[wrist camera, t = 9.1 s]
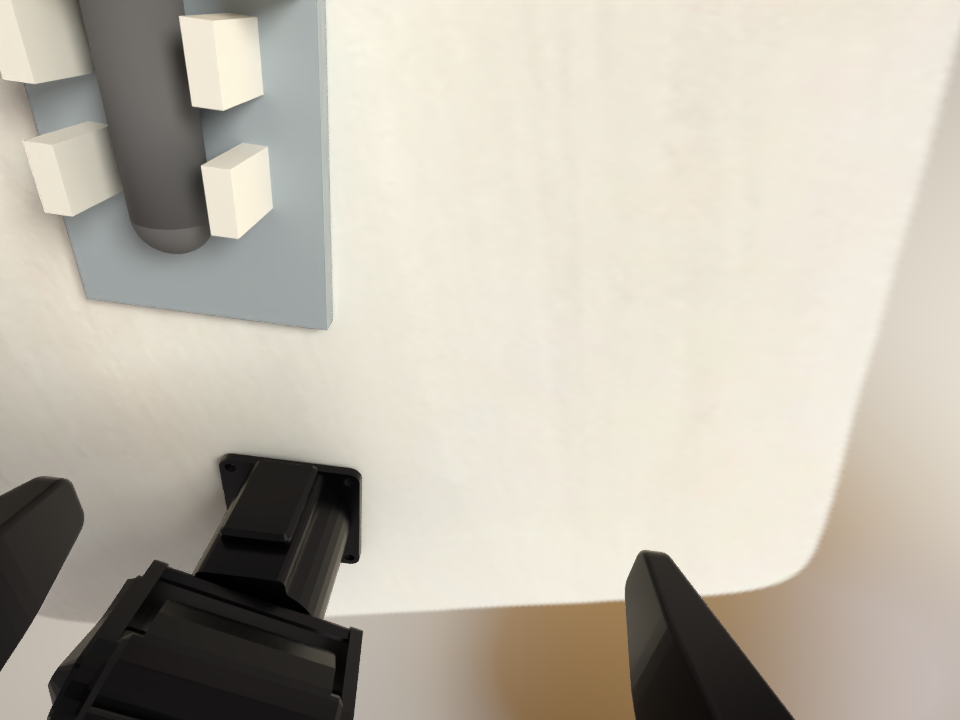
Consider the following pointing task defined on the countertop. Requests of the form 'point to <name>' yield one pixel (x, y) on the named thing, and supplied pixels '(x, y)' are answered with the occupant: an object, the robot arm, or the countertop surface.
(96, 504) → the countertop surface
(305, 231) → the board
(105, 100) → the cable
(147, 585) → the robot arm
